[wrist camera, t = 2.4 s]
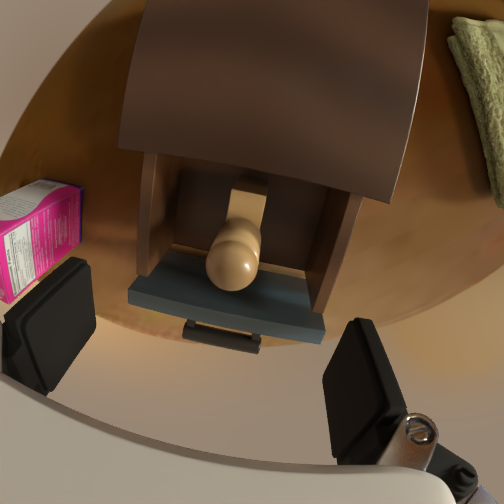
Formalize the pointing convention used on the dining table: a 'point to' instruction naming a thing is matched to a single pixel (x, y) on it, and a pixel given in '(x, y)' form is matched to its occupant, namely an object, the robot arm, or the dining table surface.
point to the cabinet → (280, 87)
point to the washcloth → (484, 88)
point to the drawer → (271, 251)
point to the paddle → (239, 237)
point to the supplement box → (36, 232)
